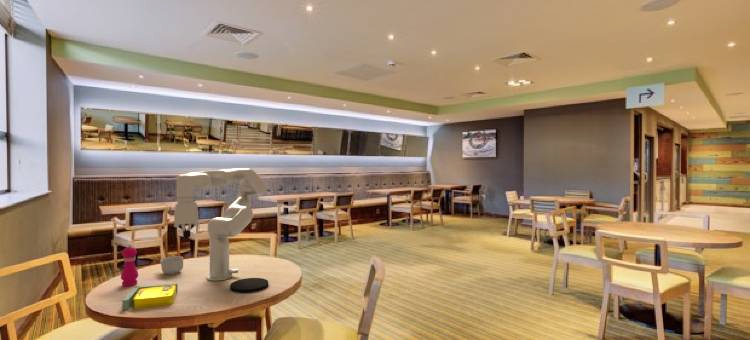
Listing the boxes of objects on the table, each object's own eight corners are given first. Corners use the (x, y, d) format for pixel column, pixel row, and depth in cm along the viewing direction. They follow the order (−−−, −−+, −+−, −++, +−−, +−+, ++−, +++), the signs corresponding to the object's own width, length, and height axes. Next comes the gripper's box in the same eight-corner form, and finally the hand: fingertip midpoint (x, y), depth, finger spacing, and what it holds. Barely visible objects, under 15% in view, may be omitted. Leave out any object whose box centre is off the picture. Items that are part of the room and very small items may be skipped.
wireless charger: (266, 292, 177) (266, 288, 177) (226, 294, 174) (226, 290, 174) (270, 280, 195) (270, 277, 195) (233, 282, 192) (233, 278, 192)
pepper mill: (129, 287, 182) (129, 246, 181) (117, 286, 183) (116, 245, 183) (141, 283, 189) (141, 243, 188) (129, 281, 190) (129, 242, 190)
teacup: (187, 272, 208) (187, 257, 207) (167, 277, 198) (167, 262, 198) (173, 268, 215) (173, 254, 215) (153, 272, 206) (153, 258, 206)
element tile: (138, 298, 169) (138, 287, 169) (176, 293, 175) (176, 283, 175) (131, 310, 155) (131, 298, 155) (172, 305, 161) (172, 294, 161)
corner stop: (177, 291, 177) (177, 283, 177) (169, 305, 160) (169, 296, 160) (135, 295, 171) (135, 286, 171) (122, 310, 154) (122, 300, 154)
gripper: (203, 198, 186) (204, 235, 186) (169, 200, 180) (170, 238, 181) (203, 200, 179) (203, 238, 180) (167, 202, 173) (168, 241, 174)
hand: (186, 238), depth 180 cm, fingers closed
